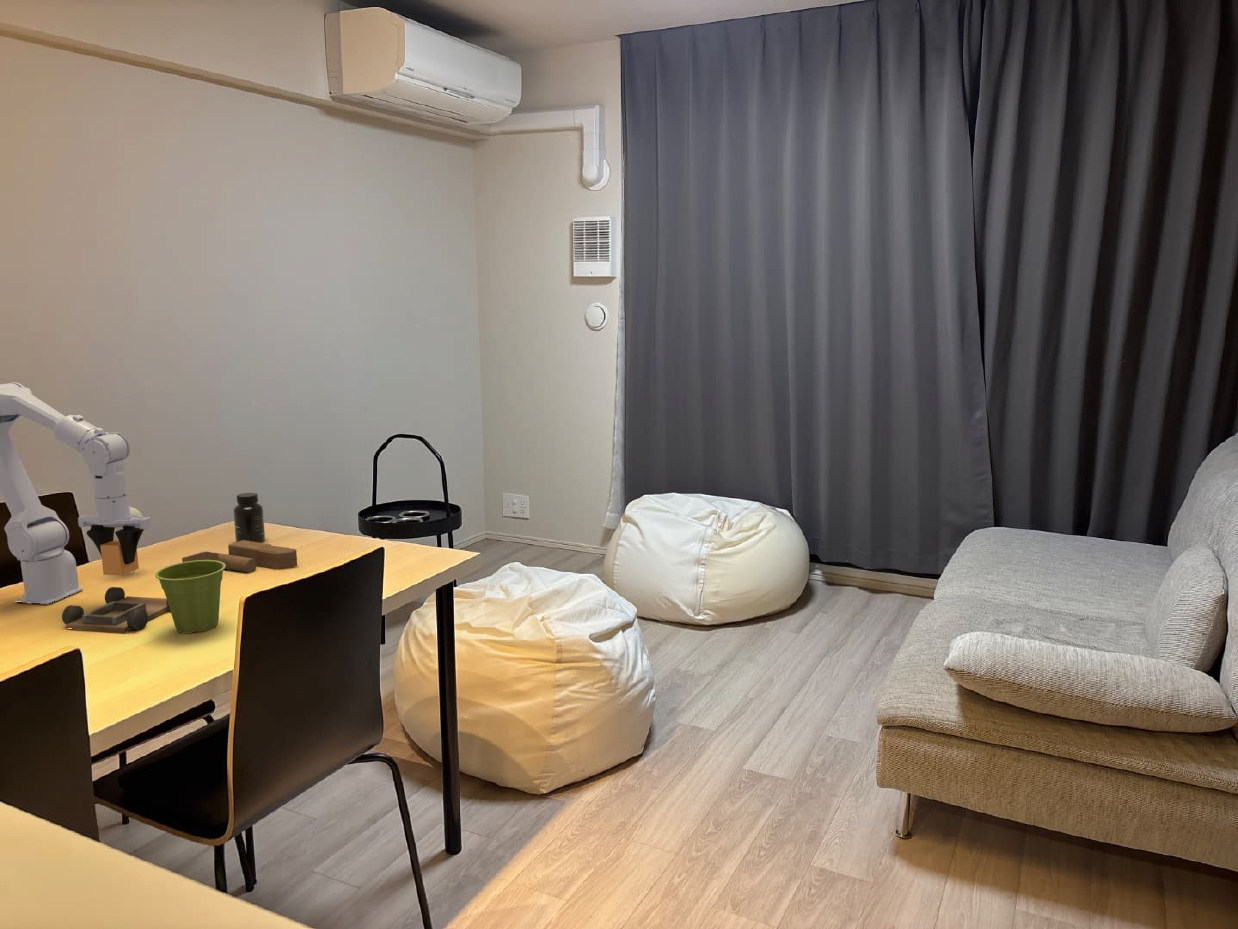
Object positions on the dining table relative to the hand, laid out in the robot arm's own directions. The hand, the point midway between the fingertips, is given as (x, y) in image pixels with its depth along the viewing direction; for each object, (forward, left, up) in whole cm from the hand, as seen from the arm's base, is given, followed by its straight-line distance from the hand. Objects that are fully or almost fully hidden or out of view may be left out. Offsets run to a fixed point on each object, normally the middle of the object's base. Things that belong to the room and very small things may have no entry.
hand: (119, 562), depth 183 cm
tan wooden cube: (0, 0, -2) cm, 2 cm away
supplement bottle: (-46, -1, -9) cm, 47 cm away
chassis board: (+7, +6, -9) cm, 12 cm away
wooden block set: (-24, +11, -9) cm, 28 cm away
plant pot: (+10, +23, -9) cm, 26 cm away
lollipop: (-18, -12, -9) cm, 24 cm away
